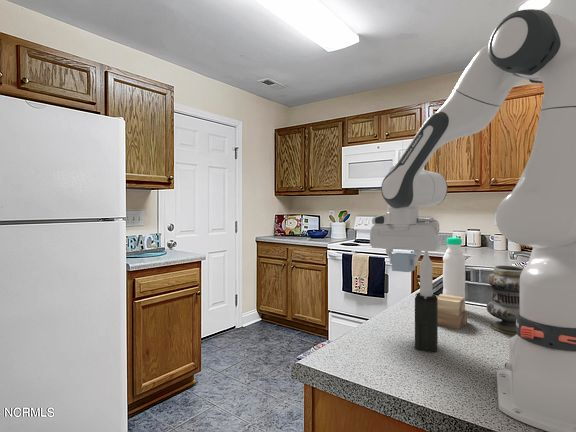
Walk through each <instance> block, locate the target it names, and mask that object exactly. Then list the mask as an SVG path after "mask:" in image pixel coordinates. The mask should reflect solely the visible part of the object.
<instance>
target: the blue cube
mask: <svg viewBox="0 0 576 432" xmlns="http://www.w3.org/2000/svg"><path fill="white" fill-rule="evenodd" d="M415 256H416V254H414V252H402V251H401V252H398V251H397V252H394V253H392V264H391V271H393V272H403V273H411V272H414V271H416V266H411V259H414V258H415Z"/></svg>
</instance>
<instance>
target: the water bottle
mask: <svg viewBox="0 0 576 432" xmlns="http://www.w3.org/2000/svg"><path fill="white" fill-rule="evenodd" d="M462 243H463V239H462V238H461V237H452V236H451V237H447V238H446V245H447V249H446V250H445V253H444V255H443V257H442V262H443V263H442V264H443V266H442V285H443V286H442V287H443V289H442V294H444V295H451V296H458V297H464V298H465V299H466V290H465V289H466V288H465V287H466V257H465V255H464V253H463V251H462V249H461V246H462V245H463V244H462Z"/></svg>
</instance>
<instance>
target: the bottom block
mask: <svg viewBox="0 0 576 432" xmlns="http://www.w3.org/2000/svg"><path fill="white" fill-rule="evenodd" d="M467 323H468V309H465V310H464V311H463V312H462V313H461V314H460V315H459V316H456V315H450V314H445V313H439V312H438V326H441V327H442V326H443V327H447V328H452V329H456V330H461V329H462V328H463V327H464V326H465V325H466V324H467Z"/></svg>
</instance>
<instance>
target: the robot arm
mask: <svg viewBox="0 0 576 432" xmlns="http://www.w3.org/2000/svg"><path fill="white" fill-rule="evenodd" d="M526 80H529V82H530V83H532V84H543V97H542V103H541V107H540V111H539V117H538V122H537V126H536V130H535V136H534V141H533V145H532V148H531V153H530V155H529V158H528V160H527V163H526V165H525V167H524V169H523V171H522V173H521V175H520V178H519V179H518V181H517V182H516V184H515V187H514V188H513V189H512V191H511V192H509V194H508V195H507V196H505V197H504V199H502V200H501V202H500V203H499V204H498V206H497V209H496V212H495V213H496V214H495V221H496V222H495V223H496V226H497V229H498V231H499V232H500V233H501V235H502V236H503V237H504V238H505V239H506V240H508V241H509V242H511V243H514V244H517V245H521V246H524V247H529V248H532V250H531V252H530V256H529V258H528V262H527V263H526V265H525V266H524V269H523V270H522V272H521V275H520V312H519V313H517V320H516V333H517V334H516V335H513V336H511V337H510V338H509V339H508V342H509V343H508V361H506V362H505V363H504V368H505V369H506V370H498V371H496V389H497V390H496V391H497V404H498V410H499V411H500V412H502V413H504V414H505V415H507V416H509V417H511V418H512V419H514V420H517V421H519V422H522V423H523V424H526V425H529V426H530V427H531V426H532V427H533V428H537V429H540V430H543V431H546V432H576V22H574V21H571V20H570V19H568V18H567V17H565V16H562V15H559V14H554V13H550V12H546V11H544V10H541V9H533V8H532V9H531V8H530V9H522V10H521V9H520V10H517V11H514V12H512V13H510V14H508V15H507V16H506V17H504V18H503V19H502V20H501V21H499V23H498V25H496V27H495V29H494V30H493V31H492V33H491V35H490V39H489V41H488V45H485V46H483V47H482V48H481V49H479V50H478V51H477V52H476V54H475V55H474V57H472V59H471V61H470V62H469V64H467V66H466V68H465V69H464V71H463V72H462V74H461V75H460V77H459V79H458V80H457V82H456V84H455V86H454V88H453V90H452V92H451V93H450V95H449V96H448V98H447V99H446V100H445V102H444V103H443V104H442V105H441V107H439V108H438V110H437V111H435V113H433V114H431V115H430V116H429V117H428V118H427V119H426V120H425V122H424V123H423V124H422V125H421V126H420V128H419V130H418V131H417V133H416V134H415V136H414V138H413V139H412V141H411V142H410V143H409V144H408V146H407V148H406V149H405V150H404V152H403V154H402V155H401V157H400V159H398V161H397V163H395V164H394V165H392V166H391V167H389V170H388V173H387V174H386V175H385V176H384V178H383V180H382V183H381V187H380V188H381V189H380V191H381V195H382V197H383V200H384V201H385V202H386V203H387V206H386V207H387V208H386V210H387V211H386V212H385V213H383V214H380V215H377V216H374V217H372V219H371V223H372V226H371V228H370V232H369V245H370V246H371V248H373V249H385V253H386V255H387V256H388V258H389V264H390V265H392V254H393V252H394V250H405V251H406V250H407V251H413V253H414V254H415V258H414V259H411V266H415V267H417V266H418V265H419V259H420V257H421V256H422V252H423V251H424V252H425V250H426V249H427V250H428V252H435V251H438V250H439V249H440V247H441V243H440V242H441V241H440V236H439V235H440V234H439V232H440V223H439V221H437V220H436V219H434V218H432V217H431V218H430V217H429V218H424V217H423V218H421V217H419V208H420V207H434V206H438V205H441V203H443V201H444V200H445V199H446V197H447V194H448V183H447V180H446V178H445V176H444V175H443V174H442V173H440V172H435V171H431V170H430V171H429V170H426V169H424V168H425V166H426V165H427V163H428V162H429V160H430V159H431V157H432V156H433V155H434V154H435V152H436V151H437V150H438V149H440V148H441V147H442V146H444V145H445V144H447V143H450V142H452V141H455V140H457V139H461V138H464V137H469V136H473V135H475V134H478V133H479V132H482V131H483V130H485V128H487V127H488V125H490V123H491V122H492V121H493V119H494V118H495V117H496V115H497V113H498V112H499V111H500V109H501V107H502V105H503V104H504V103H505V100H506V99H507V97H508V95H509V94H510V93H511V90H512V89H513V88H514V87H516V85H518V84H519V83H521V82H524V81H526Z"/></svg>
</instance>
